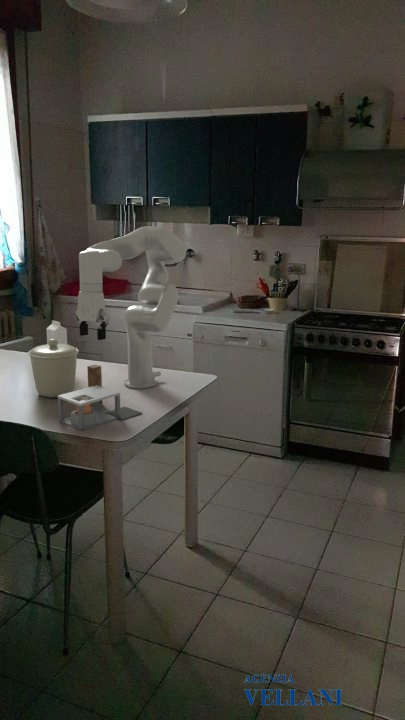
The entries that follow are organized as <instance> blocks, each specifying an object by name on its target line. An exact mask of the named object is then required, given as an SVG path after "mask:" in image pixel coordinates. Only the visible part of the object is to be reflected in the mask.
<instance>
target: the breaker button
mask: <svg viewBox="0 0 405 720" xmlns="http://www.w3.org/2000/svg"><path fill="white" fill-rule="evenodd" d="M78 401H79V402H83V401H87V400H85V399H82V400H78ZM83 406H84V415H85V414H89V413H91V412H90V410H91V405H90V404H87V405H83ZM75 411H76V413H77V414H78V405H75Z"/></svg>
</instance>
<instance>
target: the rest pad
mask: <svg viewBox="0 0 405 720" xmlns="http://www.w3.org/2000/svg"><path fill="white" fill-rule="evenodd" d="M108 412H109V413H108ZM107 413H108V414H109V415H110V413H112V414H111V416H115V415H114V414H115V409H112V410H109V411H107ZM142 414H143V412H142V411H138V410H135V409H133V408H130V407H127V406H122V407H120V417H117V419H116V420H119V421H125V420H127V419H128V420H129V419H131V418H134V417H136V416H139V415H142Z"/></svg>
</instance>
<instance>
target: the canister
mask: <svg viewBox="0 0 405 720" xmlns="http://www.w3.org/2000/svg"><path fill="white" fill-rule="evenodd" d="M79 351H80V350H79V349H78V348H77V347H74V346H73V345H70V344H68V343H67V344H58V341H57V340H56V339H50V340H49V341H48V344H47V343H46V344H42V345H37V346H35V347H33V348H31V349H30V350H29V351H28V352H27V355H28V356H29V357H30V358H29V359H30V362H31V363H30V364H31V368H32V369H31V370H32V374H33V379H34V385H35V389H36V391H37V393H38V395H40V396H41V397H45V398H50V399H52V398H57V399H58V395H62V394H65V393H69V392H73V391H74V389H75V384H76V375H77V374H76V372H77V356H78V353H79Z"/></svg>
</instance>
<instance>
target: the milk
mask: <svg viewBox="0 0 405 720" xmlns="http://www.w3.org/2000/svg"><path fill="white" fill-rule="evenodd" d="M67 331H68V329H67V328H66V327H64V326H62V325H61V321H57V320H52V319H51V324H50V325H48V326H47V327H46V344H48V341H49V340H50V339H56V340H57V341H58V344H67V345H68V332H67Z"/></svg>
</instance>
